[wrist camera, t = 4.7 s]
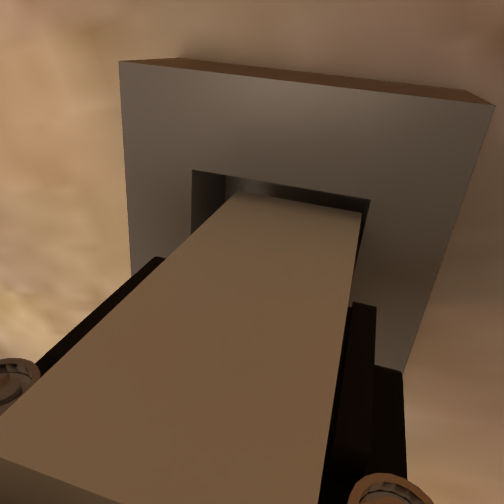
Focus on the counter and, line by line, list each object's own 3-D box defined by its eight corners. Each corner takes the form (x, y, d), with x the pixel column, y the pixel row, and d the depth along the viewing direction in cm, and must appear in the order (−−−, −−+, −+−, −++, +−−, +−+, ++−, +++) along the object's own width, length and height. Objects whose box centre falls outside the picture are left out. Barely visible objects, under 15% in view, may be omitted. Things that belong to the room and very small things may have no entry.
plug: (362, 213, 12) (307, 573, 4) (334, 331, 15) (260, 733, 6) (237, 190, 13) (-31, 444, 5) (229, 305, 16) (33, 625, 7)
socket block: (465, 90, 13) (496, 106, 10) (332, 519, 24) (324, 599, 21) (177, 57, 15) (116, 61, 12) (177, 468, 26) (146, 534, 23)
